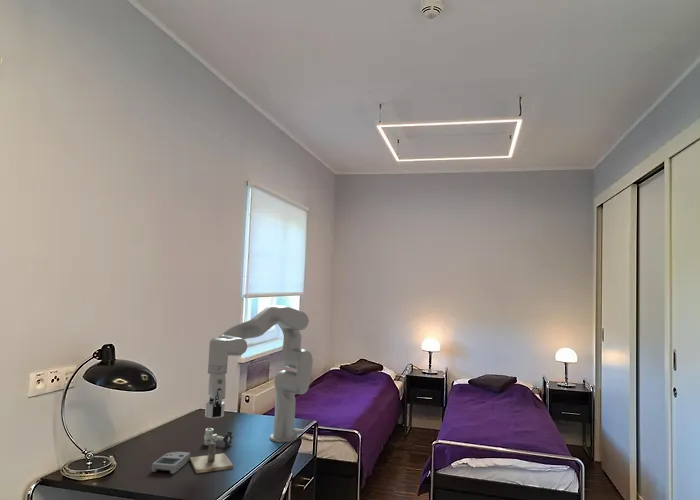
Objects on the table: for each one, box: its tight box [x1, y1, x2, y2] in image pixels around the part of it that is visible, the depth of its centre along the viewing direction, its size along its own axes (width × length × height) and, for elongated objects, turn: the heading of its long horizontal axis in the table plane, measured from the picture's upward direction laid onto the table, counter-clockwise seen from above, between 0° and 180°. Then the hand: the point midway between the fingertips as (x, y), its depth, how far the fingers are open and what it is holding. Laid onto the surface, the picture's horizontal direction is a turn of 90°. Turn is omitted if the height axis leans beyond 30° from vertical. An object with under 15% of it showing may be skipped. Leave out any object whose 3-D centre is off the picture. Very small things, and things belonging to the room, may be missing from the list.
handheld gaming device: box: [151, 451, 191, 475], centre depth 190 cm, size 9×15×4 cm, turn 175°
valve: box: [203, 427, 234, 448], centre depth 217 cm, size 7×7×12 cm
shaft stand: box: [189, 441, 234, 474], centre depth 194 cm, size 14×14×8 cm
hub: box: [204, 400, 226, 419], centre depth 195 cm, size 7×7×5 cm
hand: (214, 413), depth 195 cm, fingers closed on hub, 7 cm apart
